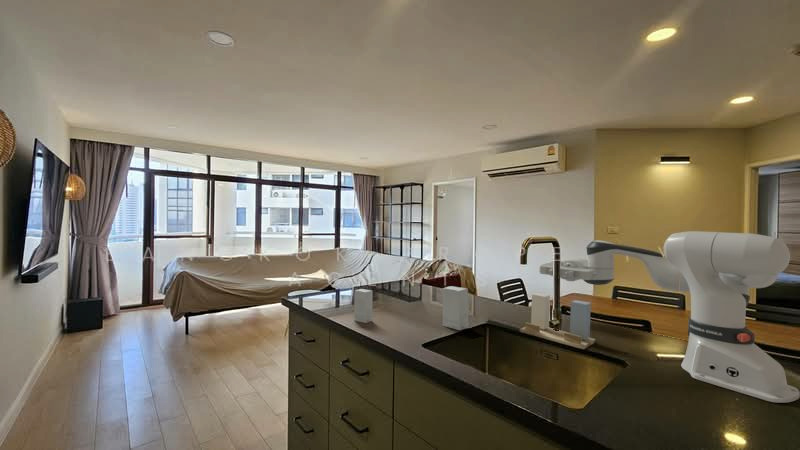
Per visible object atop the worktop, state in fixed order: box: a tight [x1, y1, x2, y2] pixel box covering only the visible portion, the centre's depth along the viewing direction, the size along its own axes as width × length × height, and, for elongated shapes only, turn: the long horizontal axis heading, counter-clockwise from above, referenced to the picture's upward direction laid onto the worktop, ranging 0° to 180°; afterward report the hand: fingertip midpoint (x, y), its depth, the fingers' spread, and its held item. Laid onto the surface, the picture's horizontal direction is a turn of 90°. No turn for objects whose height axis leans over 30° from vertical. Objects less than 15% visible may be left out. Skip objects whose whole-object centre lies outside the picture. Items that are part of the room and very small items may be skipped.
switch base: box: [519, 322, 596, 350], centre depth 123 cm, size 10×22×3 cm, turn 43°
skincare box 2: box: [441, 285, 469, 331], centre depth 131 cm, size 8×6×15 cm
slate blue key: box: [569, 299, 592, 340], centre depth 119 cm, size 4×5×12 cm
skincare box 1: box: [353, 288, 374, 324], centre depth 136 cm, size 6×4×12 cm
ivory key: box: [530, 292, 551, 330], centre depth 130 cm, size 4×5×12 cm
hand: (557, 273), depth 139 cm, fingers open, 4 cm apart
